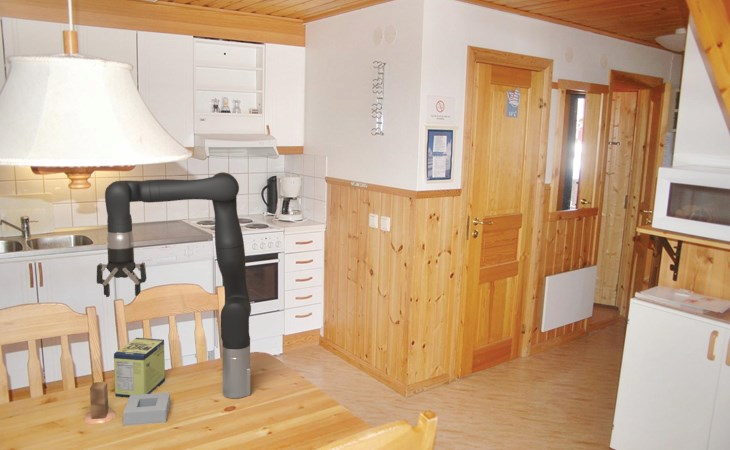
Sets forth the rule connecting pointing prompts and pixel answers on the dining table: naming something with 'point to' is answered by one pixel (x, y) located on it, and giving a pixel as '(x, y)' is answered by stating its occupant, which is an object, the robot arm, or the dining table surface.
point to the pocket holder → (146, 409)
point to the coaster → (109, 417)
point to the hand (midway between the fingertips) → (122, 295)
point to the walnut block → (99, 400)
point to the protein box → (139, 367)
